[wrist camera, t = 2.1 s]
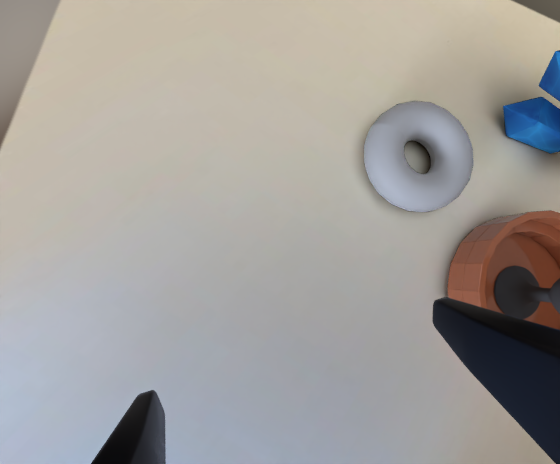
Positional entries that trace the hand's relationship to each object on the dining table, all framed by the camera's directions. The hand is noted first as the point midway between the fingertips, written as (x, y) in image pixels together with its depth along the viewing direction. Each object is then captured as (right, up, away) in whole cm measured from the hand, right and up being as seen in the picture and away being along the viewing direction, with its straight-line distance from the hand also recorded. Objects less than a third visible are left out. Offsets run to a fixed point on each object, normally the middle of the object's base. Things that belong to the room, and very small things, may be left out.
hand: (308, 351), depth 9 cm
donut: (+11, +10, +19) cm, 24 cm away
